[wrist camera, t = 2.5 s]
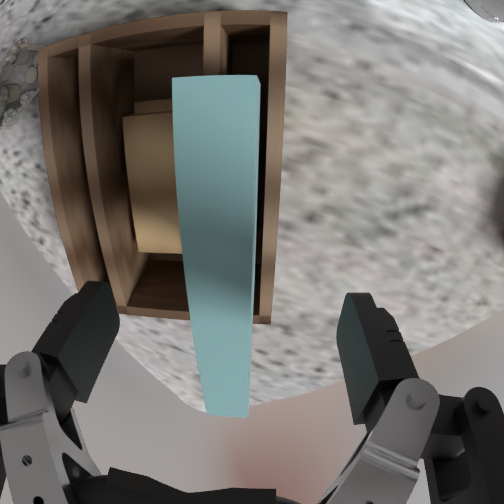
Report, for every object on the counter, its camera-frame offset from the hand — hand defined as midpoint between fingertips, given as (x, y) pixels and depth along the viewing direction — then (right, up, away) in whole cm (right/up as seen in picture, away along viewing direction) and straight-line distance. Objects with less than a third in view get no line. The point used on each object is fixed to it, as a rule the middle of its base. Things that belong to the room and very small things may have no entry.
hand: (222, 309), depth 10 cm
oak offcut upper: (-6, +8, +15) cm, 18 cm away
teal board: (+1, +10, +17) cm, 20 cm away
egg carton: (-25, +21, +14) cm, 36 cm away
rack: (-6, +11, +18) cm, 22 cm away
